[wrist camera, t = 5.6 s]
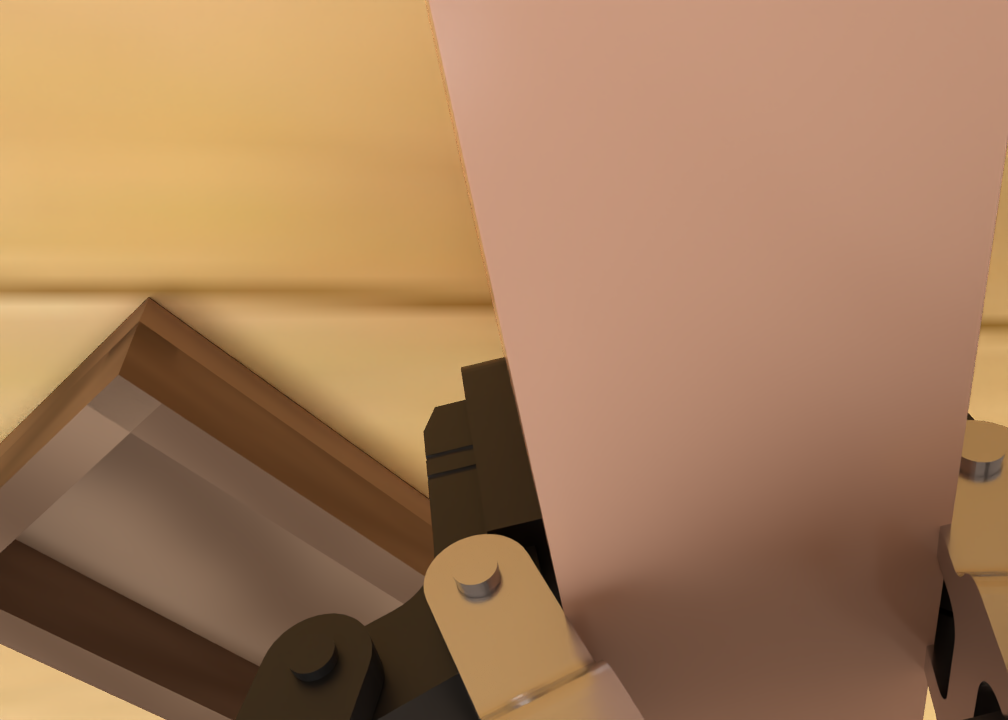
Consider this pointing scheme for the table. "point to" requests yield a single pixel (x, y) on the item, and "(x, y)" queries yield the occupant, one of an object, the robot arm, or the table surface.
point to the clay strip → (739, 322)
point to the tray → (189, 523)
